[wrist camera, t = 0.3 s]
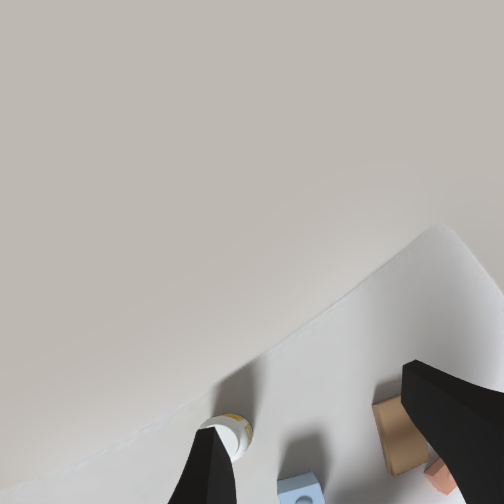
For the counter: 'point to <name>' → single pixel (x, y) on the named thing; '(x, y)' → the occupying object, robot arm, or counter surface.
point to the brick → (441, 477)
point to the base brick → (399, 437)
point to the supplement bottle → (232, 433)
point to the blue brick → (300, 490)
